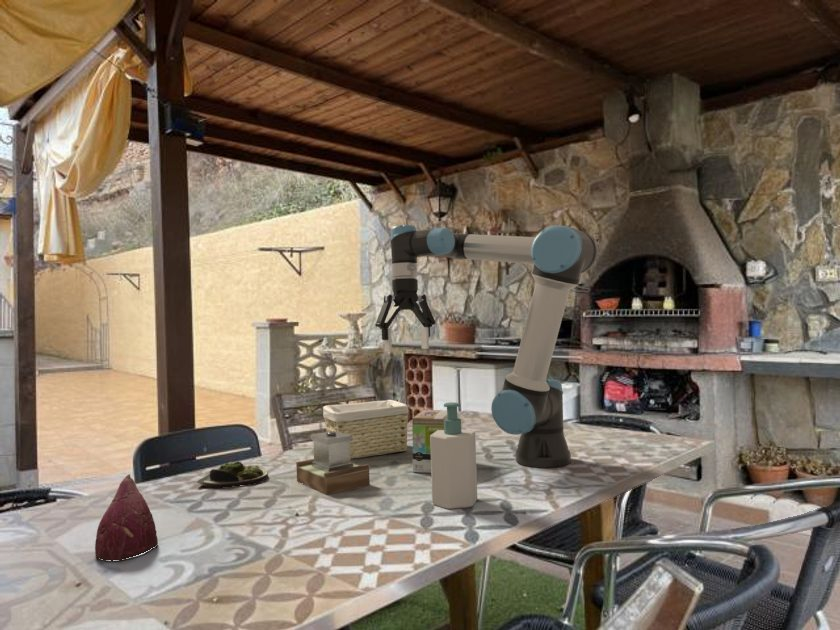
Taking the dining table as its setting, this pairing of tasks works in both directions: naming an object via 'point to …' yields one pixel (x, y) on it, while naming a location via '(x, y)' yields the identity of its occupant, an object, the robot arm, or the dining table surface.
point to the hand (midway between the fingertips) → (407, 350)
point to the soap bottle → (453, 463)
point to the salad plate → (233, 475)
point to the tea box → (425, 437)
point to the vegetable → (126, 525)
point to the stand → (332, 477)
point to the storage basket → (370, 426)
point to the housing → (331, 451)
